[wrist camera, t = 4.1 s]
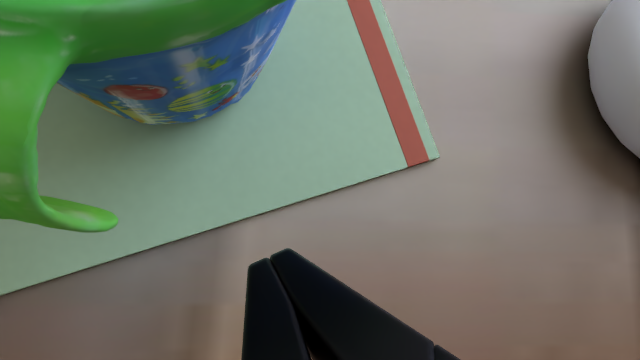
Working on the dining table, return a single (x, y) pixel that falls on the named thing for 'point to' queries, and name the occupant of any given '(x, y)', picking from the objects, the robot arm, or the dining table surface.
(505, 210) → the dining table surface
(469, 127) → the dining table surface
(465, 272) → the dining table surface
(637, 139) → the donut
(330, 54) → the green flat piece
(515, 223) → the dining table surface
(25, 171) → the snack cup
